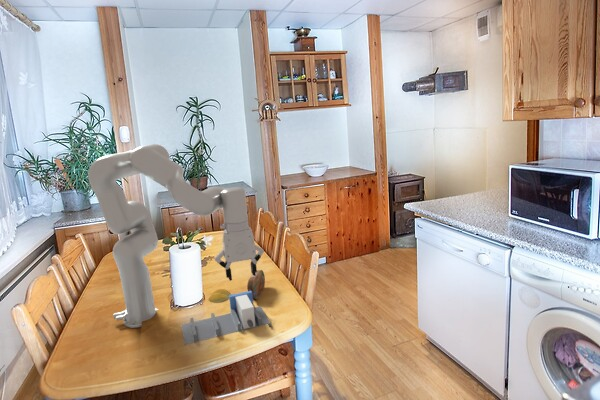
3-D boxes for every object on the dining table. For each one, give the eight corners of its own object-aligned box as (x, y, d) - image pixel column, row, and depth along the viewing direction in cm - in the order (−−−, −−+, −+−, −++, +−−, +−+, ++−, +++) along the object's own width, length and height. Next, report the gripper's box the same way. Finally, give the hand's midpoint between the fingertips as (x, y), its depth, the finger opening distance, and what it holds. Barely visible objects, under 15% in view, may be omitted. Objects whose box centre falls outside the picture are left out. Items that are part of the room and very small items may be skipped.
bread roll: (205, 306, 149) (204, 296, 149) (214, 295, 158) (213, 286, 157) (226, 307, 148) (225, 297, 147) (234, 295, 157) (233, 286, 156)
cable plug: (246, 334, 126) (244, 314, 124) (237, 315, 138) (235, 296, 137) (258, 331, 127) (256, 311, 125) (248, 312, 139) (246, 294, 138)
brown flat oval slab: (255, 303, 149) (253, 282, 147) (247, 302, 150) (245, 282, 148) (266, 285, 164) (264, 266, 162) (258, 285, 164) (257, 266, 162)
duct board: (185, 348, 123) (181, 324, 121) (182, 328, 135) (178, 305, 133) (270, 327, 132) (268, 304, 130) (261, 309, 144) (259, 288, 142)
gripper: (211, 233, 120) (217, 286, 124) (265, 224, 126) (270, 275, 130) (207, 227, 127) (214, 277, 131) (259, 219, 133) (264, 267, 137)
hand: (241, 276), depth 131 cm, fingers open, 7 cm apart
